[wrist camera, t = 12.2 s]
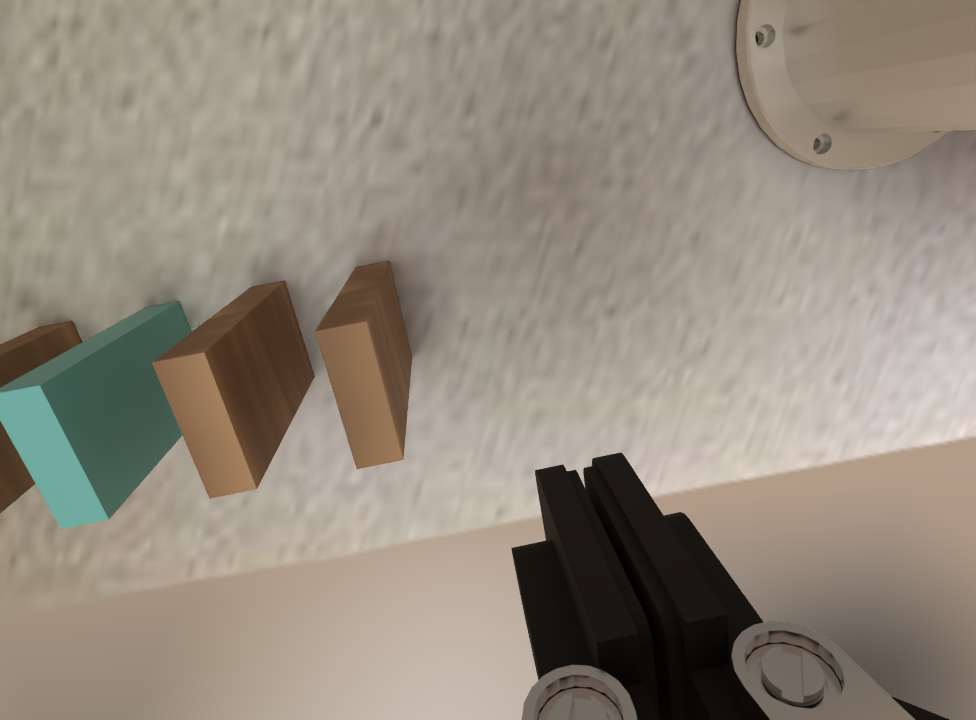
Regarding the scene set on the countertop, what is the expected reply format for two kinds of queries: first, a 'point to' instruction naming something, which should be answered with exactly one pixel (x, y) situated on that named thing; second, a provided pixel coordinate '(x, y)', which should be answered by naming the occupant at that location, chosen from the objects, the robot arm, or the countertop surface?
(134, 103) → the countertop surface
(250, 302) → the domino
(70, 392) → the domino
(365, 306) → the domino
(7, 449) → the domino
